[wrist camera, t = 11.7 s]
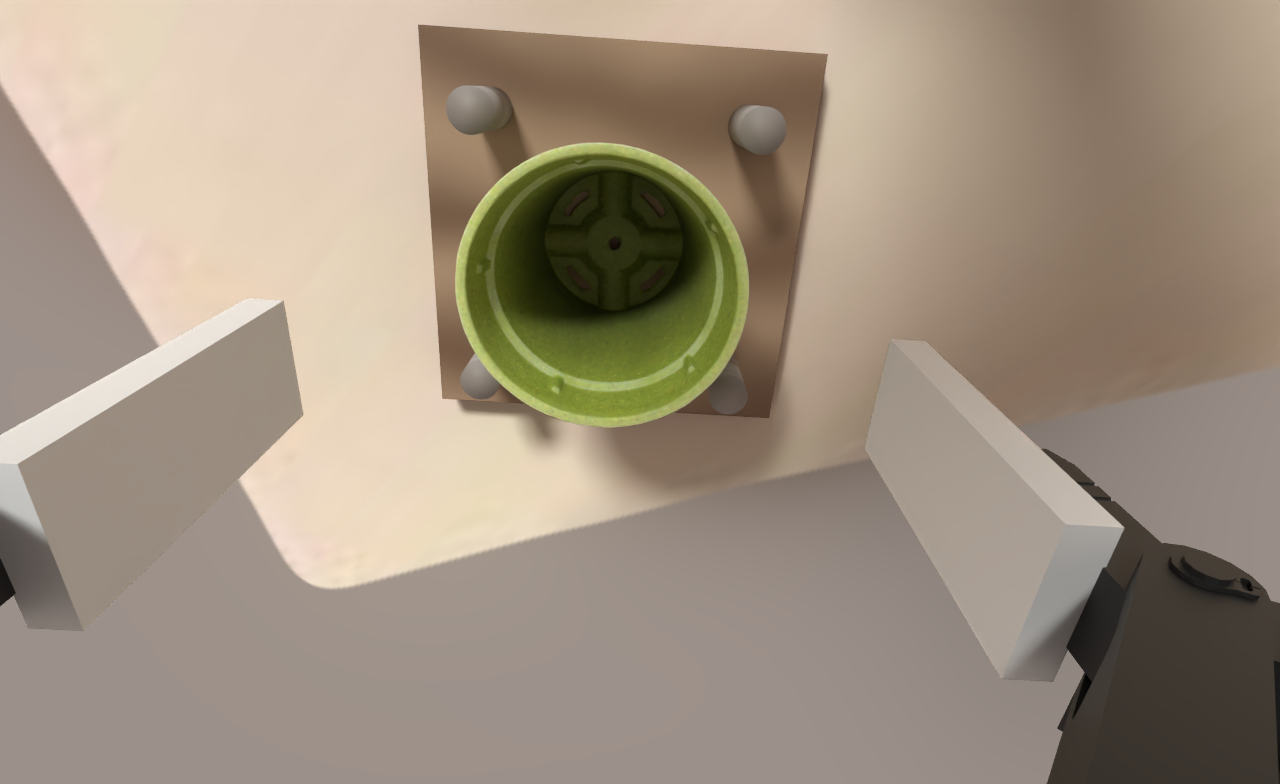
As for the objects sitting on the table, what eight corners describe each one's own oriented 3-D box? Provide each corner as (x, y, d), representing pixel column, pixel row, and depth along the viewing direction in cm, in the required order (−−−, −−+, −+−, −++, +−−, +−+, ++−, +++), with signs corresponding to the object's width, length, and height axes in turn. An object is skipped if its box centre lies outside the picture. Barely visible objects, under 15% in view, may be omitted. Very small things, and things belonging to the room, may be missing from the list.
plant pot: (619, 381, 32) (610, 476, 24) (462, 245, 29) (395, 302, 21) (764, 240, 29) (810, 295, 21) (606, 75, 26) (591, 68, 18)
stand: (429, 28, 27) (380, 13, 22) (818, 56, 27) (858, 47, 22) (450, 386, 34) (417, 437, 29) (763, 404, 34) (784, 458, 29)
